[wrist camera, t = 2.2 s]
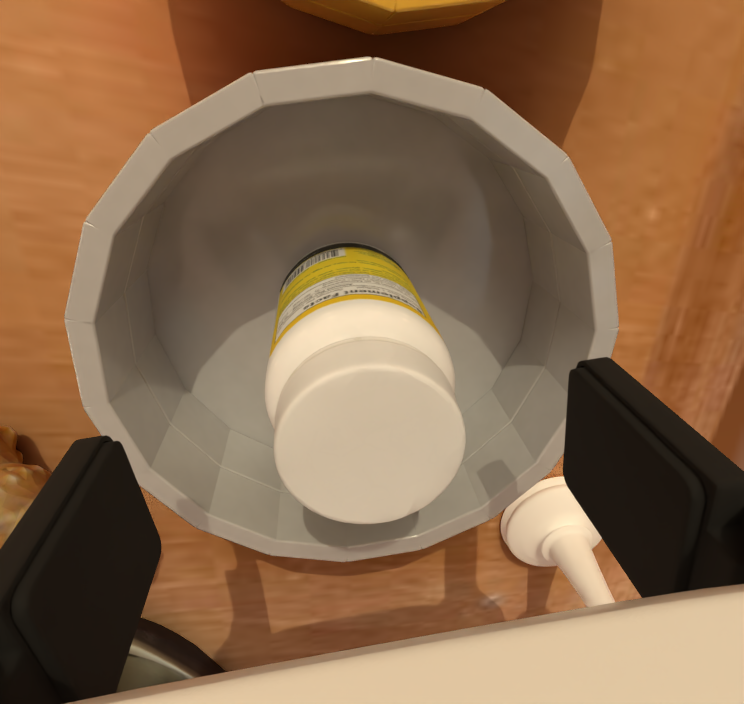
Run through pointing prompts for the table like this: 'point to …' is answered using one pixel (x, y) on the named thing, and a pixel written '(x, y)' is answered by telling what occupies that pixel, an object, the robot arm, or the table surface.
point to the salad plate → (162, 659)
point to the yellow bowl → (394, 13)
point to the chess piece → (556, 537)
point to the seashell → (16, 483)
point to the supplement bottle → (360, 389)
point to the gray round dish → (315, 229)
